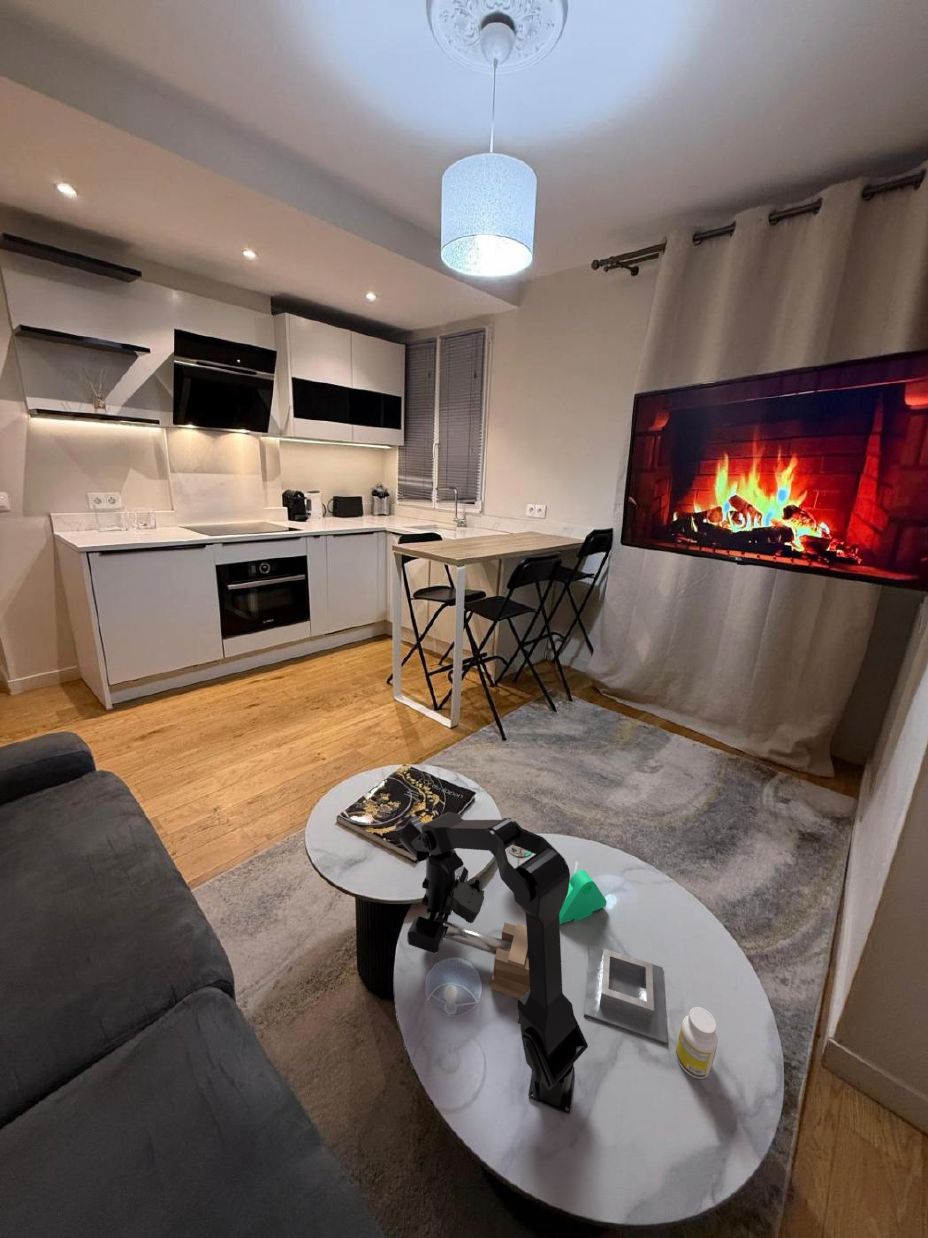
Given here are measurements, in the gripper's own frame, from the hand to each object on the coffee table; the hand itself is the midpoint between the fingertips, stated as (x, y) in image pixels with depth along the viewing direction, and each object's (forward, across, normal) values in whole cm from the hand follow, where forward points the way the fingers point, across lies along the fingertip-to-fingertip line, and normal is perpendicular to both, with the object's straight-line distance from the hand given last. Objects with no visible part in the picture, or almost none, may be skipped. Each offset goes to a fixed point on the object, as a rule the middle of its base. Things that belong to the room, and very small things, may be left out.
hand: (439, 935), depth 99 cm
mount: (+2, 0, -16) cm, 17 cm away
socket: (+2, +3, -36) cm, 37 cm away
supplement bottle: (+3, -5, -48) cm, 48 cm away
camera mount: (+3, +19, -25) cm, 32 cm away
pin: (-1, 0, -6) cm, 6 cm away
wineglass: (+3, +22, -12) cm, 25 cm away
